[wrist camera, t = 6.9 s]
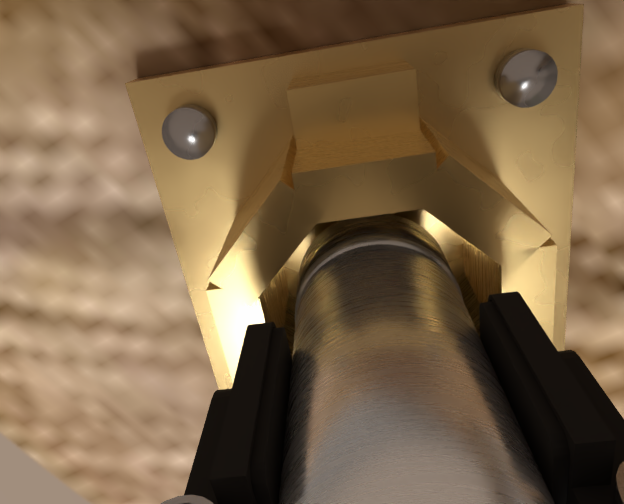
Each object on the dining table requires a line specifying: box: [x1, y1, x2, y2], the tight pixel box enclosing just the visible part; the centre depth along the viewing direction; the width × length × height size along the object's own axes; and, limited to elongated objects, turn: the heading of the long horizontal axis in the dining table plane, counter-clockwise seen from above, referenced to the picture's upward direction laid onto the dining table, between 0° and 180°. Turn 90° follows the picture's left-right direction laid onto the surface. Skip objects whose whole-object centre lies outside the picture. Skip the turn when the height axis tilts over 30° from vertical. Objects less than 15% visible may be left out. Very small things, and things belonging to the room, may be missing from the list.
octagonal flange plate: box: [125, 4, 584, 390], centre depth 15 cm, size 12×12×5 cm
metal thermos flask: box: [278, 214, 555, 504], centre depth 9 cm, size 4×4×12 cm
